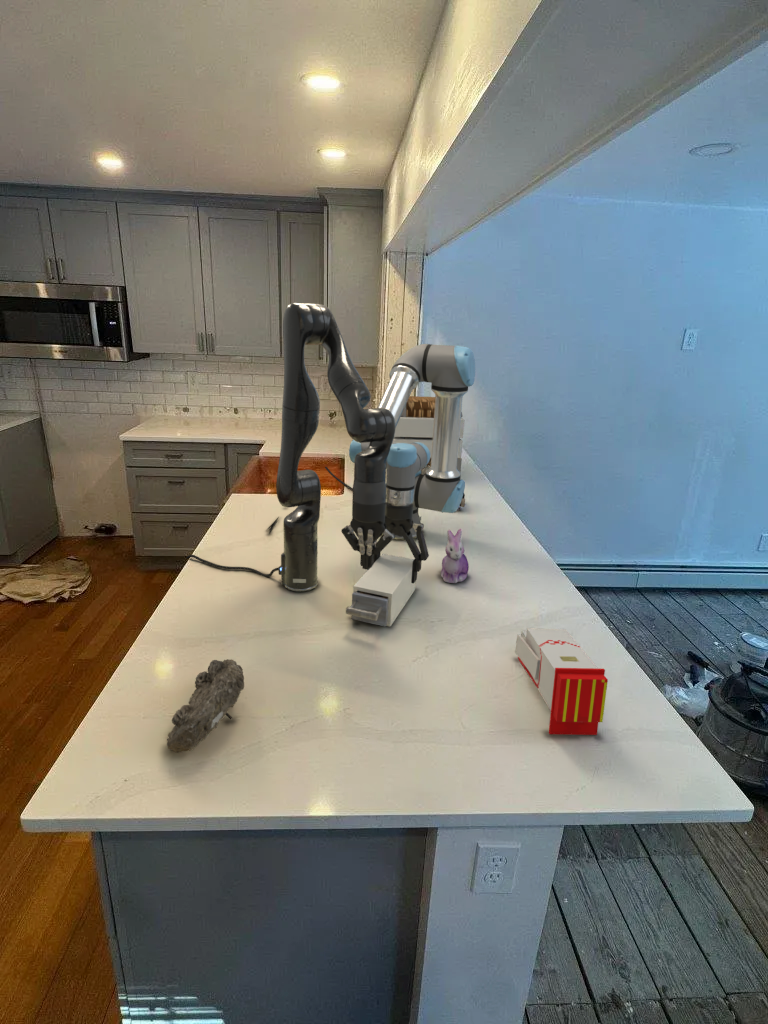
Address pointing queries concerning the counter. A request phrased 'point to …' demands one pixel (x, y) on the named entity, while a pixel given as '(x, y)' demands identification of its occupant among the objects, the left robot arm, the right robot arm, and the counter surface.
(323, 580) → the counter surface
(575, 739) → the counter surface
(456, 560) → the figurine
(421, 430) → the transformer
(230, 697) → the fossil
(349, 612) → the drawer
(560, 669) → the toy
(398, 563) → the cabinet
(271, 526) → the feather
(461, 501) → the figurine character
